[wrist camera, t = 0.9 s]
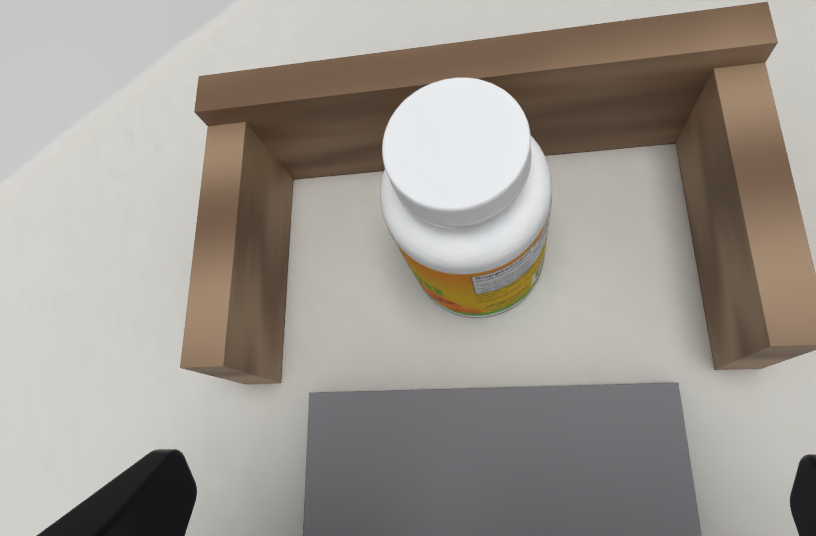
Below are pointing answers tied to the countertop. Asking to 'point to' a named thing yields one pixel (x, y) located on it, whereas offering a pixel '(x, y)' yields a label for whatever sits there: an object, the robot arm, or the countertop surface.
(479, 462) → the mat
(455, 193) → the supplement bottle
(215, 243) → the brown walled open frame
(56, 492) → the countertop surface
